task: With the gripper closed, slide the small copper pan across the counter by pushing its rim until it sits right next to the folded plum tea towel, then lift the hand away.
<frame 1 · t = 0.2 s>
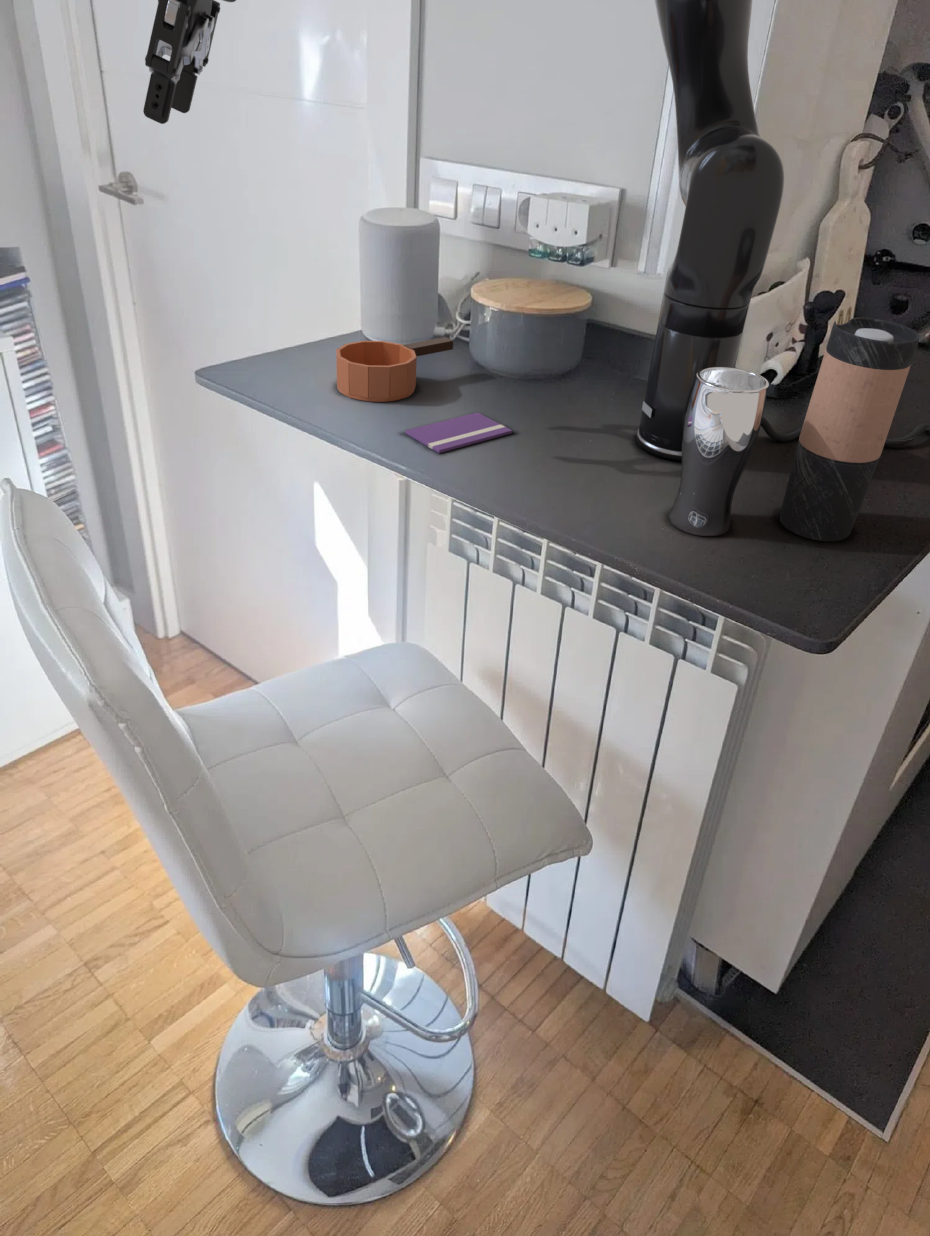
hand: (166, 114, 90), 31 cm above the countertop, tool tilted 20°, fingers open, 8 cm apart
travel mug: (814, 526, 93), on the countertop
pan: (376, 387, 118), on the countertop
towel: (459, 433, 107), on the countertop
beer glass: (698, 523, 92), on the countertop
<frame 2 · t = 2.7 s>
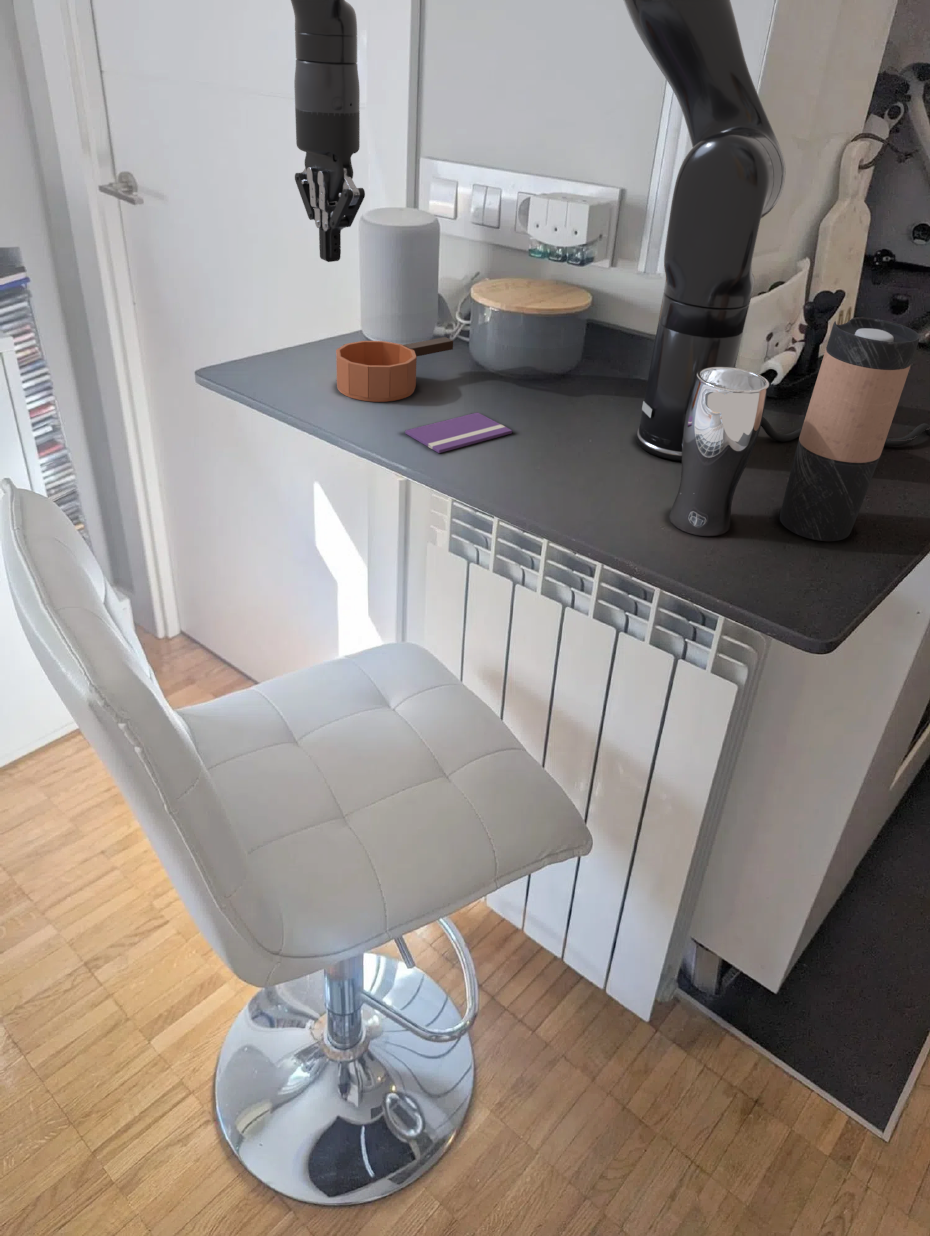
hand: (330, 259, 117), 14 cm above the countertop, tool pointing down, fingers closed
nothing on the countertop moved.
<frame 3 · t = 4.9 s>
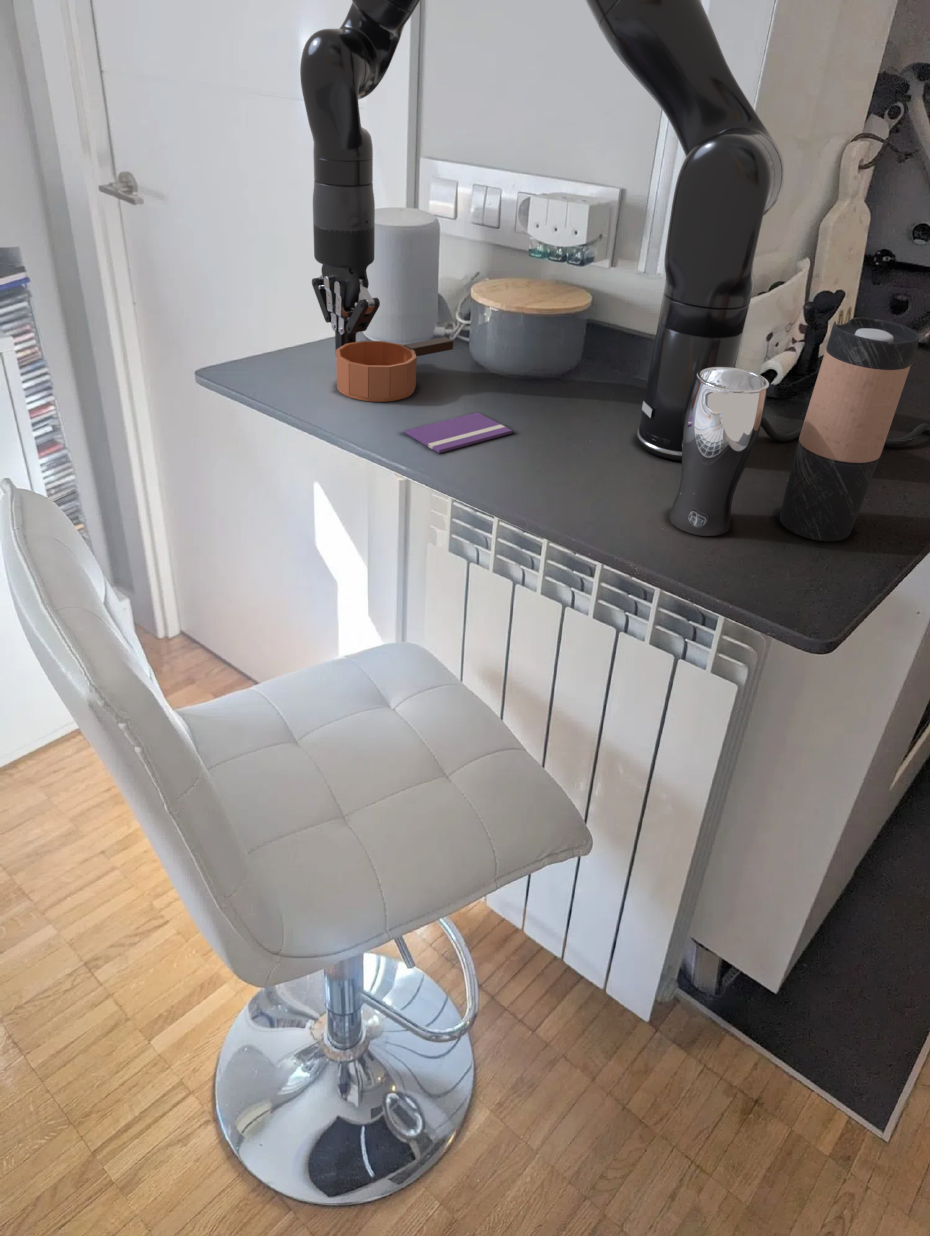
hand: (345, 359, 121), 1 cm above the countertop, tool pointing down, fingers closed
pan: (376, 387, 118), on the countertop, touching gripper
everything else where it was.
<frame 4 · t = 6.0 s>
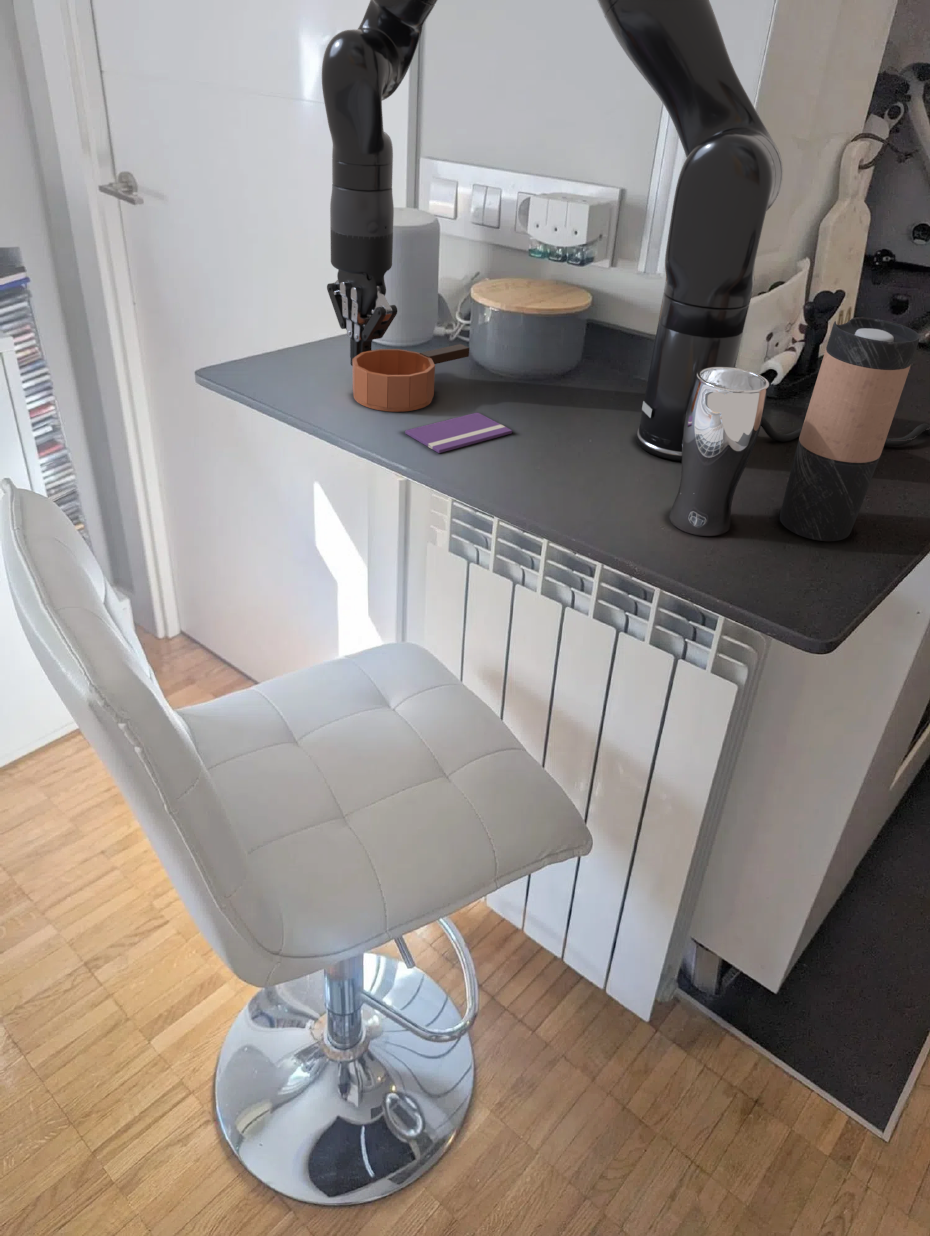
hand: (360, 366, 119), 2 cm above the countertop, tool pointing down, fingers closed
pan: (393, 396, 115), on the countertop, touching gripper
everything else where it was.
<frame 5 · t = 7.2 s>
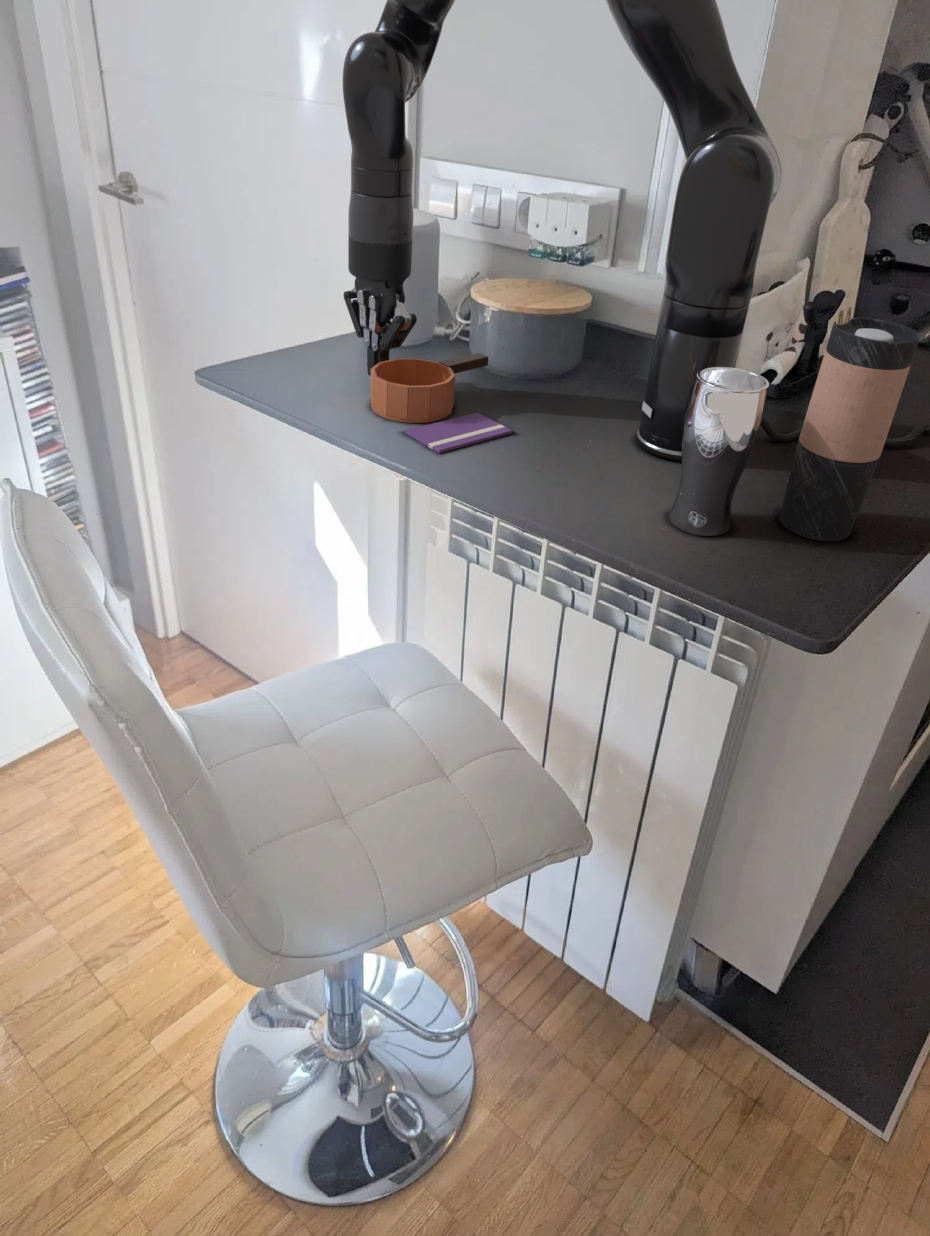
hand: (377, 376, 116), 2 cm above the countertop, tool pointing down, fingers closed
pan: (411, 407, 113), on the countertop, touching gripper
everything else where it was.
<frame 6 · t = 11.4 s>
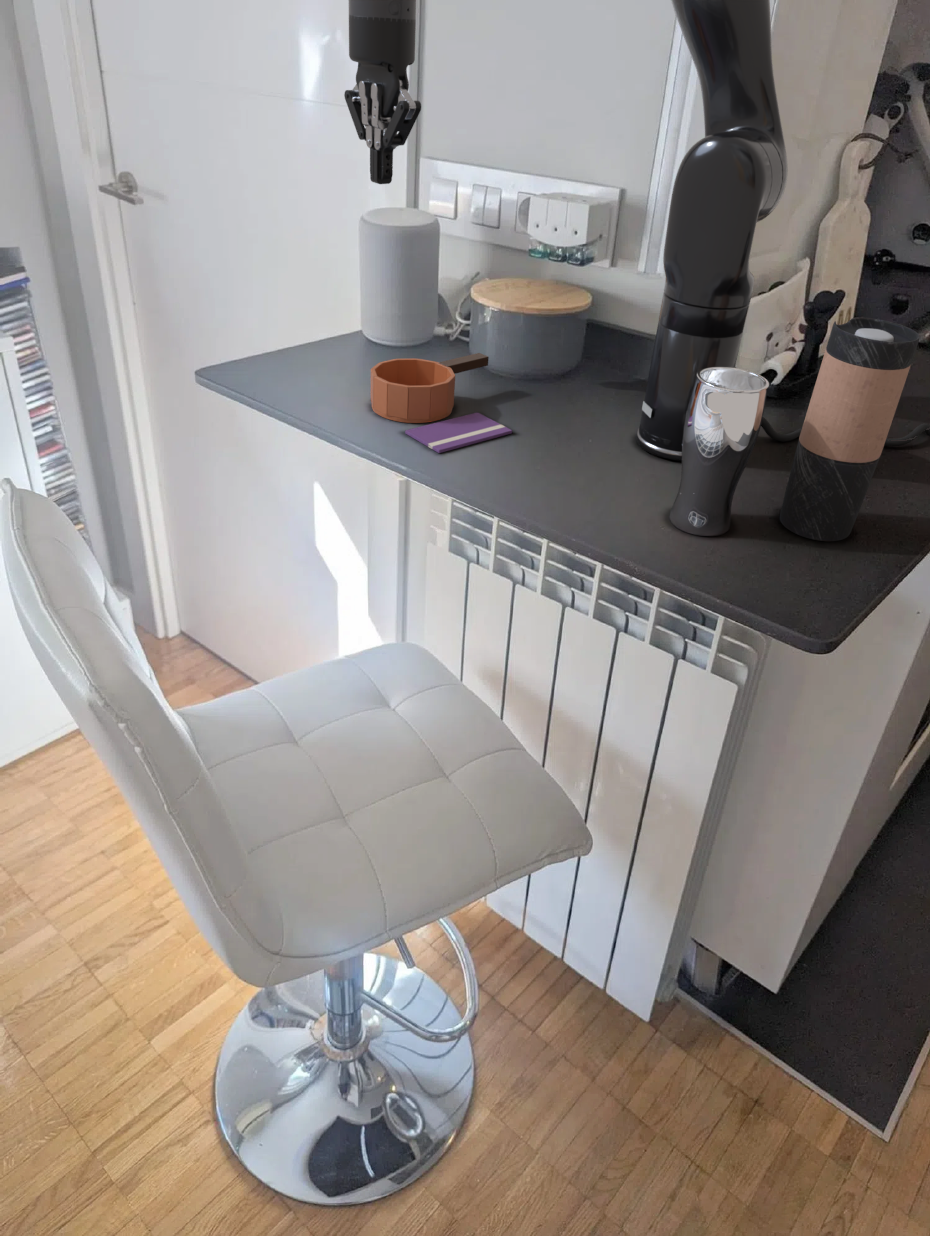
hand: (380, 182, 111), 23 cm above the countertop, tool pointing down, fingers closed
pan: (412, 407, 113), on the countertop
everything else where it was.
at the end: pan inside the target area (0.9 cm from its centre), on the countertop; pan moved 7.9 cm from its start; pan tilted 0° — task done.
